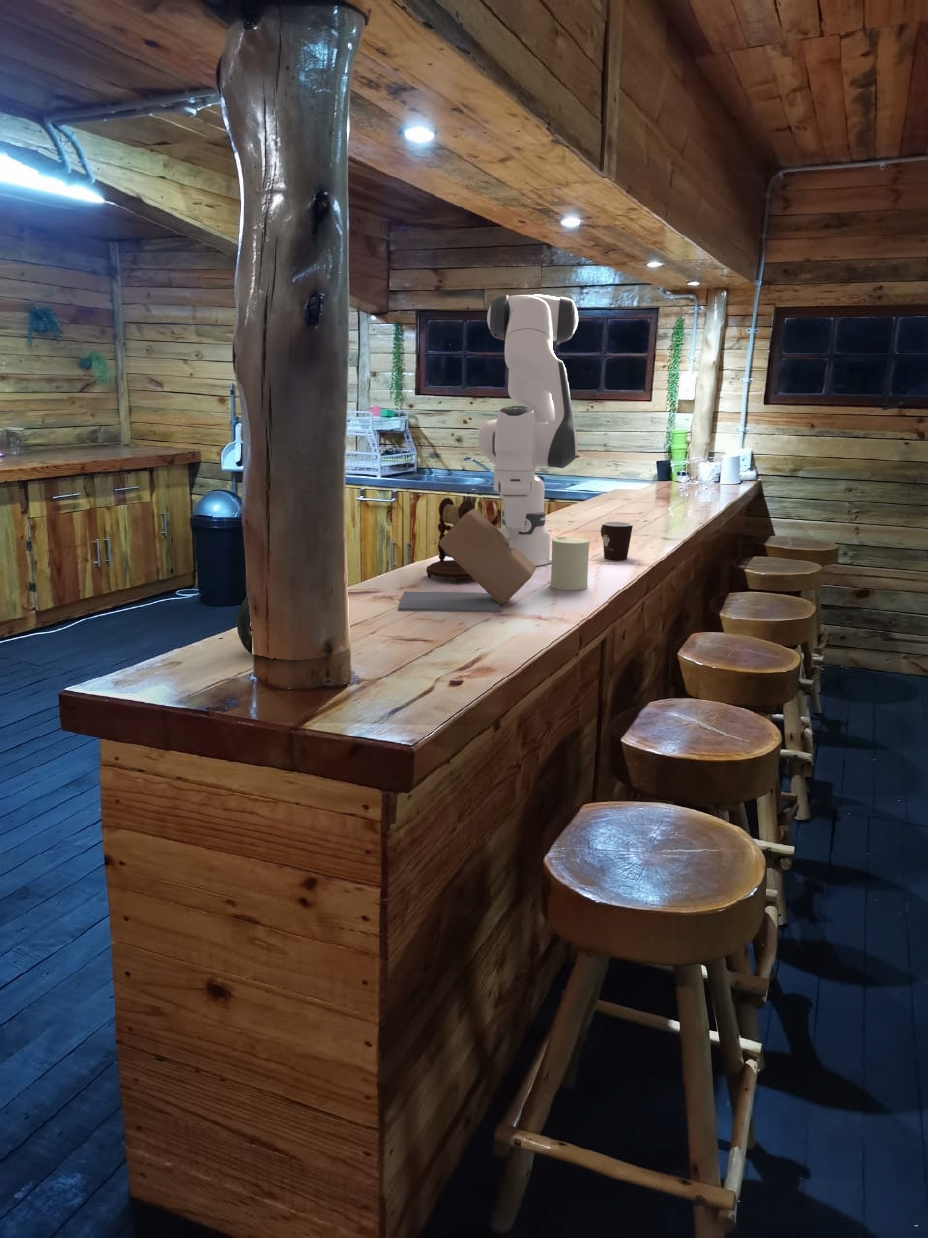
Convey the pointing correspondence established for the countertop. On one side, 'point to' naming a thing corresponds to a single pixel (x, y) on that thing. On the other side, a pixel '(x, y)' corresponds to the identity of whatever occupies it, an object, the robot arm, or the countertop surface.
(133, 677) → the countertop surface
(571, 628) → the countertop surface
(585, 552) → the can
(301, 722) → the countertop surface
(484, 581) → the block
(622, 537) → the coffee mug
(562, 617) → the countertop surface
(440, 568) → the wooden spool stand
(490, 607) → the mat
